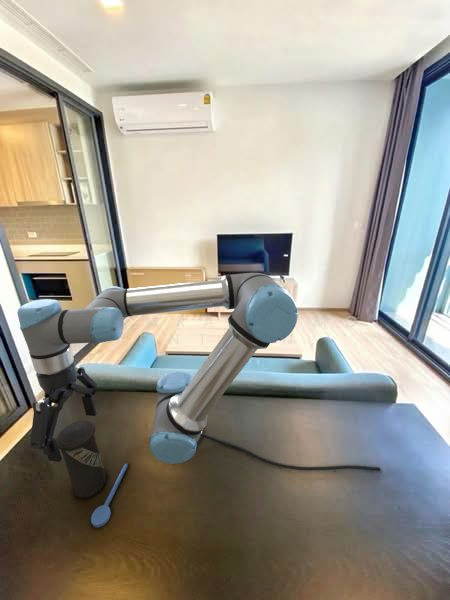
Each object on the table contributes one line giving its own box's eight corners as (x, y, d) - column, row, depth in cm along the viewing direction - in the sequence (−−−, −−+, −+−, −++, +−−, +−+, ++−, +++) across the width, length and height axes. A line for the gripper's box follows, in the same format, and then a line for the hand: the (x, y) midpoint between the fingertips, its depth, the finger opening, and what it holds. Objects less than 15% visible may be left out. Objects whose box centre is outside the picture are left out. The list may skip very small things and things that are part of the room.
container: (93, 503, 66) (77, 448, 59) (64, 495, 68) (45, 442, 61) (113, 471, 74) (101, 419, 67) (87, 465, 76) (72, 414, 69)
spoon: (120, 464, 76) (119, 461, 76) (134, 466, 76) (133, 463, 75) (87, 526, 61) (86, 523, 61) (104, 528, 61) (103, 525, 60)
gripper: (76, 338, 69) (91, 399, 77) (-14, 404, 46) (19, 482, 53) (102, 339, 68) (114, 401, 76) (22, 408, 45) (51, 487, 53)
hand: (75, 435), depth 65 cm, fingers open, 13 cm apart
